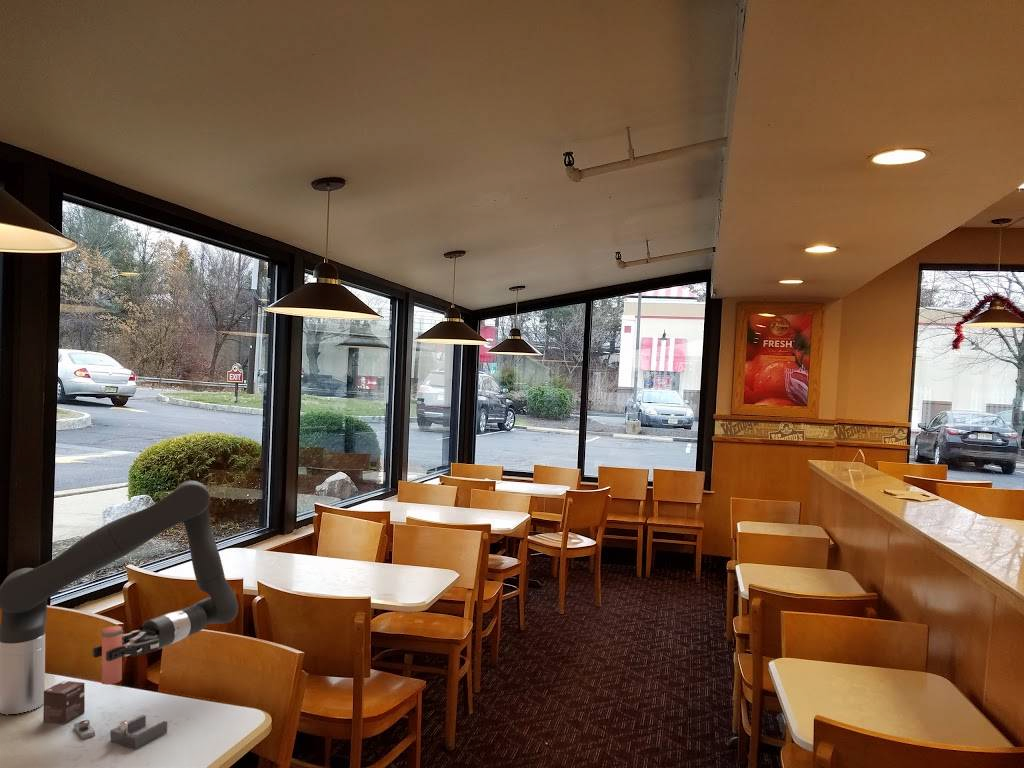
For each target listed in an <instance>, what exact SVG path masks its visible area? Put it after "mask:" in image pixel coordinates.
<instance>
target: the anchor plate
mask: <svg viewBox="0 0 1024 768" xmlns="http://www.w3.org/2000/svg"><path fill="white" fill-rule="evenodd" d="M90 722H91V721H90V719H89V720H88V719H85V720H82V721H79V722H76V723H73V729H74V730H75V732H76V733H77V735H78V736H79V738H80V739H81V740H86V739H89V738H91V737H94V736H96V730H95V729H94V728H93V727H92V725H91V723H90Z"/></svg>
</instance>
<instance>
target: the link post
mask: <svg viewBox="0 0 1024 768" xmlns="http://www.w3.org/2000/svg"><path fill="white" fill-rule="evenodd" d="M122 631H123V627H122V626H119V625H111V626H106V627H104V628H102V629H101V633H100V635H101V645H102V656H101V684H102V685H106V686H107V685H114V684H117V683H119V682H120V681H122V680H123V677H122V676H123V675H122V674H123V672H122V670H123V669H122V668H123V667H122V666H123V659H122V658H123V656H122V657H119V658H117V659H114V660H112V661H107V660H106V652H107V651H109V650H112V649H114V648H117V647H120V646H122Z"/></svg>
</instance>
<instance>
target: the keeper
mask: <svg viewBox="0 0 1024 768" xmlns="http://www.w3.org/2000/svg"><path fill="white" fill-rule="evenodd" d="M146 715H147V714H146ZM146 715H145V714H141V715H139V716H137V717H134V718H133V719H131V720H129V721H128V720H123V721H121V722H120V723H119V725H118V726H116V727H115V728H112V729H111V730H110V738H109V741H110V742H111V743H113V744H117V745H120V746H123V747H124V748H127V749H128V748H129V749H131V750H134V751H136V750H137V749H139V748H141V747H143V746H145V745H147V744H149V743H151V742H152V741H154V740H157V739H158V738H160V737H162V736H164V735H166V734H168V721H166V720H163V721H161V722H159V723H157V724H156V725H153V726H152V727H150V728H147V729H146V730H143V731H142V732H140V733H138V734H133V733H135V732H138V731H139V730H141V729H143V728H145V727H146V726H147V716H146Z"/></svg>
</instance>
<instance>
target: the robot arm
mask: <svg viewBox="0 0 1024 768" xmlns="http://www.w3.org/2000/svg"><path fill="white" fill-rule="evenodd" d="M210 502H211V495H210V491H209V490H208V487H206V485H204V483H202V482H200V481H198V480H186V481H183V482H181V483H179V484H178V485H177V487H176V488H175V489H174V491H172V492H171V493H170V494H168V495H167V496H165V497H163V498H162V499H160V500H159V501H157V502H156V503H153V504H152V505H150V506H148V507H146V508H143V509H141V510H138V511H136V512H133V513H130V514H127V515H125V516H122V517H120V518H117V519H115V520H113V521H111V522H109V523H106V524H105V525H103V526H101V527H99V528H97V529H95V530H93V531H92V532H90V533H89V534H87V535H86V536H84V537H82V538H81V539H80V540H78V541H77V542H75V543H74V544H72V545H71V546H69V548H67V549H66V550H64V551H62V553H60V554H59V555H58V556H56V557H55V558H53V559H51V560H49V561H47V562H45V563H43V564H41V565H39V566H37V567H35V568H32V567H24V568H19V569H16V570H14V571H13V572H11V573H10V574H8V575H7V576H6V577H5V579H4V580H3V582H2V583H1V584H0V610H1V616H0V617H1V618H0V713H1V714H0V715H2V714H17V713H22V714H24V713H23V712H26V713H28V712H27V711H29V712H32V711H34V710H33V709H35V710H36V708H37V709H39V708H40V707H42V706H43V705H44V691H45V690H46V688H45V687H46V686H45V685H46V682H45V680H46V674H45V673H46V623H47V617H48V616H47V615H48V614H47V613H48V612H47V611H48V599H49V598H50V597H51V596H53V595H54V594H56V593H57V592H60V590H62V589H64V588H65V587H67V586H68V585H71V584H72V583H74V582H76V581H78V580H80V579H83V578H84V577H86V576H88V575H91V574H93V573H95V572H96V571H99V570H100V569H103V568H105V567H106V566H109V565H110V564H112V563H114V562H116V561H118V560H120V559H121V558H123V557H124V556H127V555H128V554H130V553H132V552H133V551H135V550H136V549H138V548H139V547H141V546H143V545H144V544H146V543H147V542H149V541H151V540H152V539H154V538H155V537H157V536H158V535H159V534H162V533H163V532H165V531H166V530H169V529H171V528H172V527H175V526H176V525H179V524H181V523H183V526H184V528H185V532H186V537H187V541H188V547H189V551H190V552H189V553H190V558H191V564H192V569H193V572H194V576H195V581H196V584H197V588H198V590H199V591H200V592H202V593H206V594H208V595H209V597H206V598H203V599H201V600H199V601H197V602H195V603H194V604H192V605H191V606H187V607H184V608H182V609H179V610H176V611H171V612H168V613H167V612H166V613H164V614H162V615H159V616H156V617H154V618H151V619H148V620H146V621H144V622H143V623H142V624H141V626H140V628H139V629H137V630H132V631H130V632H128V633H125V631H124V630H122V646H120V647H117V648H114V649H112V650H109V651H107V652H106V660H107V661H112V660H114V659H117V658H119V657H122V658H123V657H128V656H129V657H132V658H133V657H137V656H142V655H146V654H149V653H153V652H157V651H159V650H161V649H163V648H166V647H168V646H170V645H172V644H175V643H177V642H179V641H182V640H184V639H185V638H188V637H190V636H192V635H194V634H197V633H199V632H201V631H202V630H203V629H205V627H206V626H208V625H214V624H228V623H231V622H232V621H234V619H235V618H236V617H237V616H238V612H239V603H238V602H239V601H238V599H237V597H236V595H235V592H234V590H233V589H232V587H231V585H230V584H229V582H228V581H227V578H226V576H225V575H226V574H225V572H224V566H223V564H222V559H221V555H220V552H219V549H218V546H217V543H216V540H215V537H214V533H213V531H212V525H211V521H210V513H209V512H210V511H209V506H210V505H209V504H210ZM99 657H102V644H100V645H97V646H96V647H93V648H92V658H99ZM42 704H43V705H42ZM41 705H42V706H41ZM38 707H39V708H38ZM31 710H32V711H31ZM17 715H18V714H17Z"/></svg>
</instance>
